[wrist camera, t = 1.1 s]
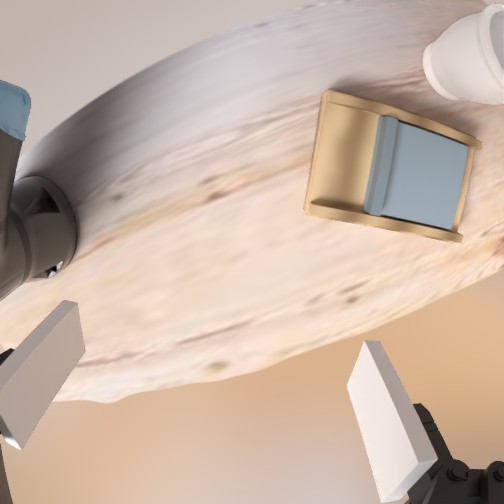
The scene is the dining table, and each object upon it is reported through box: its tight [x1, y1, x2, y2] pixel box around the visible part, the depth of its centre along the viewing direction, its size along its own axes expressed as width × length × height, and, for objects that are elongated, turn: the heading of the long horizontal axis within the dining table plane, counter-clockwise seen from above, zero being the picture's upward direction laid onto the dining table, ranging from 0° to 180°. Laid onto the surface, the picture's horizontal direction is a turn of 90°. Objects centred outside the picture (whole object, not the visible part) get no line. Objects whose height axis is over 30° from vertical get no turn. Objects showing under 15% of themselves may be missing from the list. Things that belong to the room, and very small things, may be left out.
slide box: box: [303, 89, 482, 243], centre depth 33 cm, size 20×14×5 cm
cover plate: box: [362, 116, 468, 230], centre depth 31 cm, size 12×10×3 cm
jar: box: [423, 3, 504, 105], centre depth 23 cm, size 11×10×15 cm
